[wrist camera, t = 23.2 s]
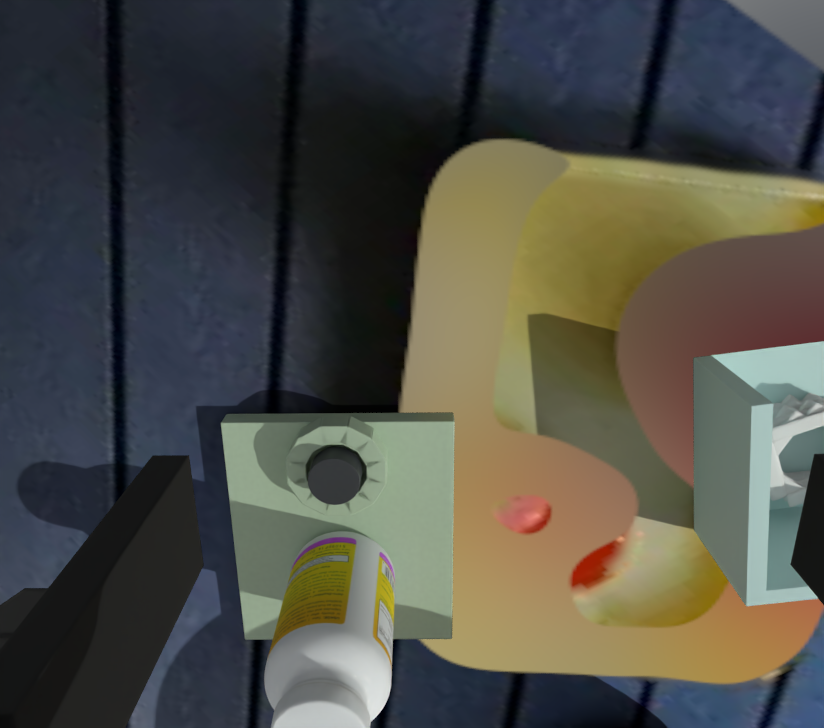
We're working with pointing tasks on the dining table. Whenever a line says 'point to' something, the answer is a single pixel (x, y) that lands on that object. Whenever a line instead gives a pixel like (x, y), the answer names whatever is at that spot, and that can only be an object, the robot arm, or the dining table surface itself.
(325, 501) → the button
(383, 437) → the scale
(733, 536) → the right angle wall
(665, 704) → the dining table surface
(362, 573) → the supplement bottle
